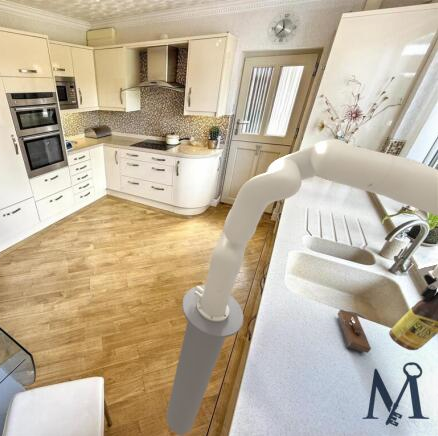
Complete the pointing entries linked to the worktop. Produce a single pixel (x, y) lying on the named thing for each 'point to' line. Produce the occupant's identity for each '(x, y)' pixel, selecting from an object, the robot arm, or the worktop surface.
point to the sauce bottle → (417, 325)
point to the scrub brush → (352, 332)
